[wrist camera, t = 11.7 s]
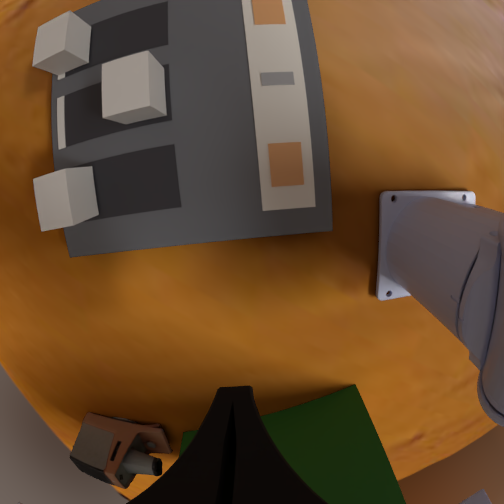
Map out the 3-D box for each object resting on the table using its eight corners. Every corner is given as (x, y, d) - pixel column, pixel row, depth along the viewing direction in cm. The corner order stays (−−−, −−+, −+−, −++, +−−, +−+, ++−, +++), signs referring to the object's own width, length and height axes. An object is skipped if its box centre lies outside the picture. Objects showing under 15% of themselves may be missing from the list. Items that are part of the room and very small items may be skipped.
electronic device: (174, 444, 25) (163, 499, 18) (100, 433, 25) (80, 479, 18) (165, 421, 24) (149, 481, 17) (86, 409, 24) (61, 457, 17)
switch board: (294, -16, 13) (299, -32, 11) (323, 223, 18) (333, 231, 16) (71, 27, 13) (58, 18, 11) (83, 248, 18) (69, 258, 16)
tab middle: (164, 68, 13) (148, 50, 10) (166, 115, 14) (150, 105, 11) (124, 78, 13) (101, 64, 10) (125, 124, 14) (102, 117, 11)
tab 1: (91, 26, 12) (69, 10, 9) (88, 62, 12) (64, 49, 10) (61, 40, 12) (38, 27, 9) (58, 75, 12) (32, 66, 10)
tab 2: (92, 166, 14) (64, 168, 12) (98, 214, 15) (73, 225, 13) (61, 174, 14) (33, 179, 12) (68, 220, 15) (41, 231, 13)
